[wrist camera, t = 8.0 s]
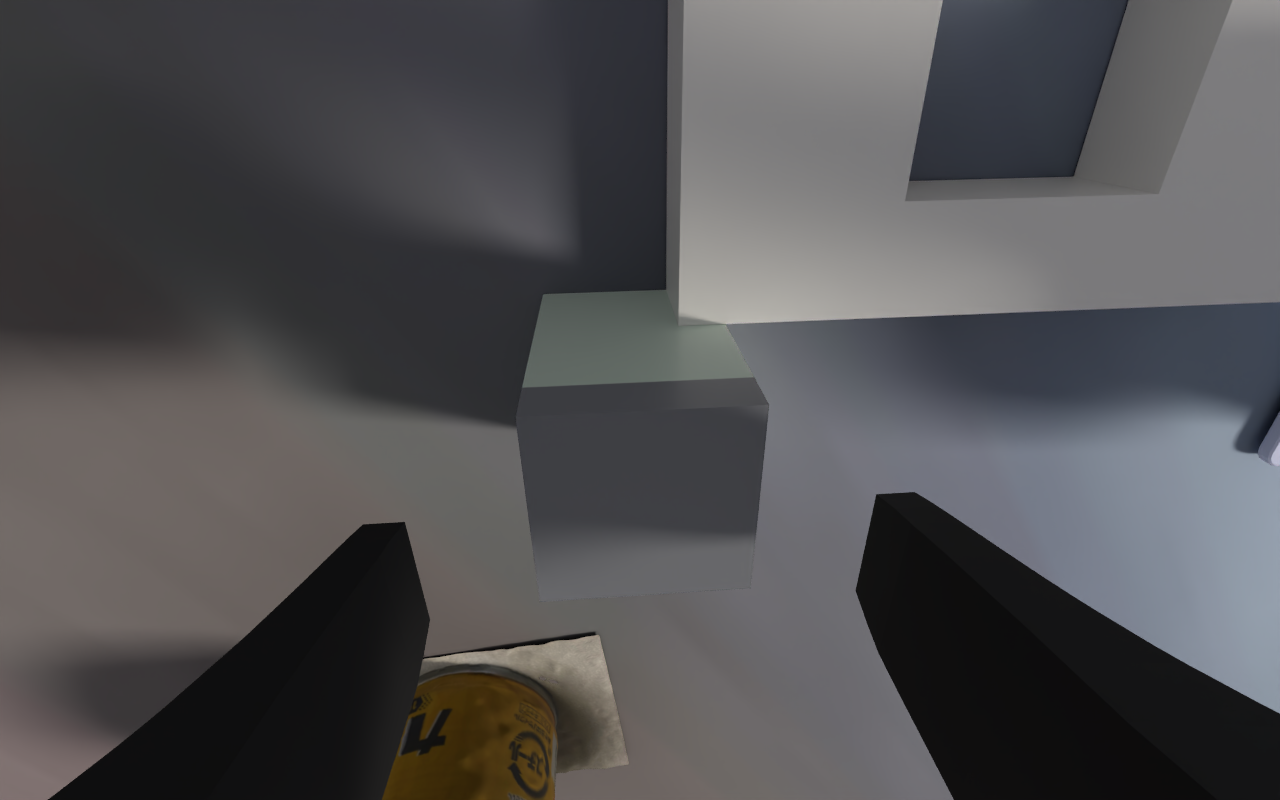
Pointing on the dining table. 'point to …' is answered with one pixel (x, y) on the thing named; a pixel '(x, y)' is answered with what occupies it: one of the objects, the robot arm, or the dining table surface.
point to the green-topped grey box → (638, 450)
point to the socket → (961, 209)
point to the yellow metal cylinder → (507, 723)
